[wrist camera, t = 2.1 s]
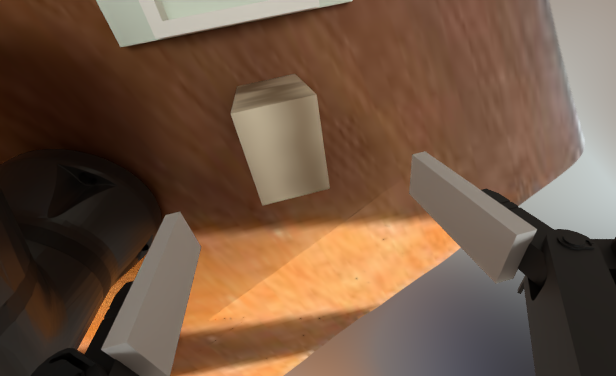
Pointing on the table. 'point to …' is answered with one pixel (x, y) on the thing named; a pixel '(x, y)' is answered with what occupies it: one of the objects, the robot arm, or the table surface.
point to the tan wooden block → (281, 137)
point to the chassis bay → (192, 15)
